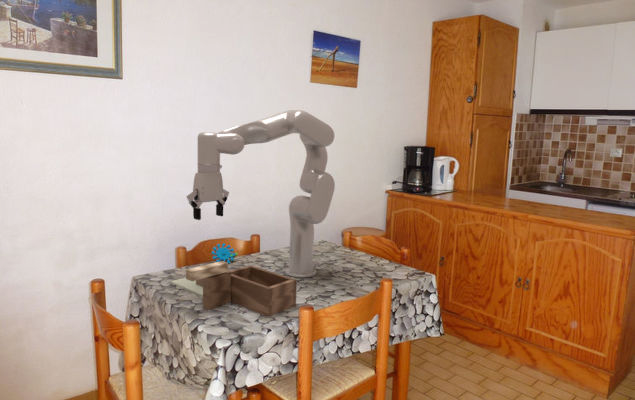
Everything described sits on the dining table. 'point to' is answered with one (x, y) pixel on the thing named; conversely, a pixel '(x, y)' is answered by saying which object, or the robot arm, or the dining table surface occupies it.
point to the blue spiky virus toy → (224, 253)
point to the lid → (190, 285)
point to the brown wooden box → (250, 290)
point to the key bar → (206, 270)
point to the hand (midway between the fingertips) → (208, 217)
